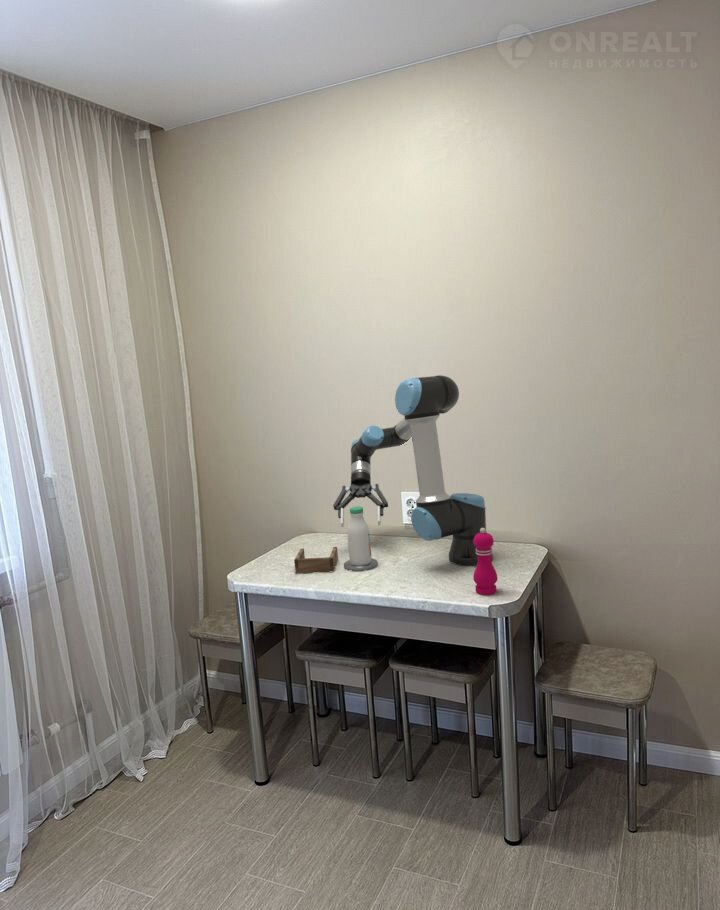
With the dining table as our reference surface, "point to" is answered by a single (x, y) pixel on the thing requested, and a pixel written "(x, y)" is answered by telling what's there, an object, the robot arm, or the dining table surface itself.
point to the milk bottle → (358, 538)
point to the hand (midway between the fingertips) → (360, 524)
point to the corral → (315, 563)
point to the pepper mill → (484, 564)
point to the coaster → (361, 568)
